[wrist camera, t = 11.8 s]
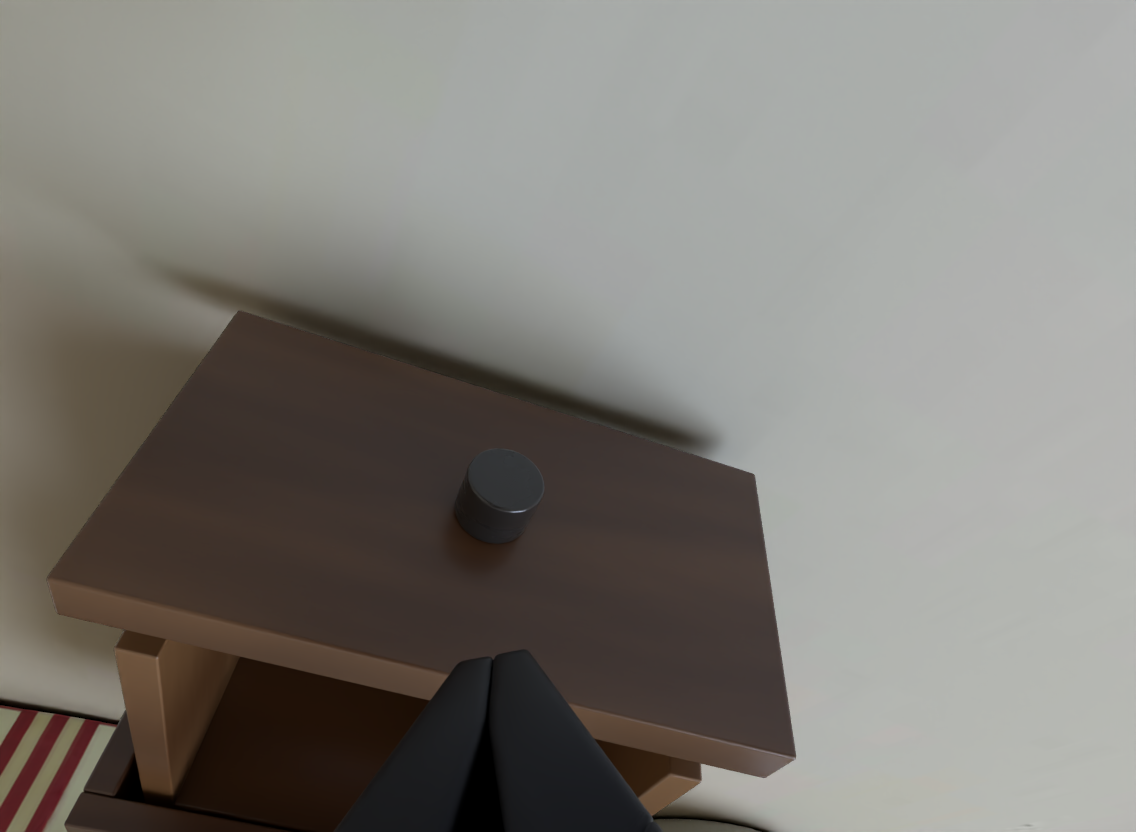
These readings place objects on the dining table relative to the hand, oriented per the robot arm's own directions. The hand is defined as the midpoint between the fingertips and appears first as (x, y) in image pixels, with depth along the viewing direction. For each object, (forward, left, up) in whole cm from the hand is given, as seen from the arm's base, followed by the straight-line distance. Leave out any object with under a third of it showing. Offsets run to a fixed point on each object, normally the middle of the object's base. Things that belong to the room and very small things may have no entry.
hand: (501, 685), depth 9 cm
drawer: (+7, +7, -9) cm, 13 cm away
